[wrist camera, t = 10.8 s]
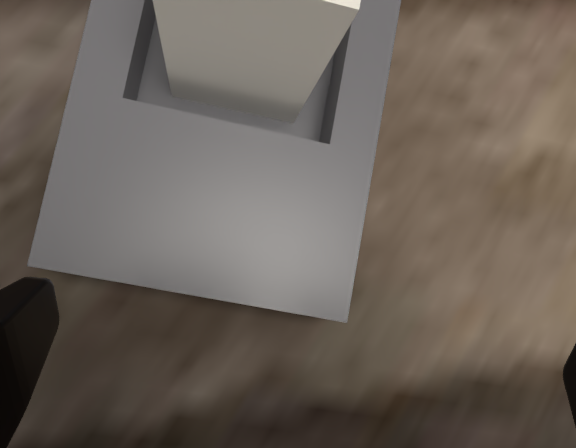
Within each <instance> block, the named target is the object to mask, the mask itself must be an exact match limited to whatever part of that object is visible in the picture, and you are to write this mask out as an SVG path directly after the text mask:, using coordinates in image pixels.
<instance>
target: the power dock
mask: <svg viewBox="0 0 576 448" xmlns="http://www.w3.org/2000/svg"><path fill="white" fill-rule="evenodd" d="M400 4H401V0H361V2H360V8H359V11H358V13H357V14H356V16H355V18H354V20H353V21H352V23H351V25H350V26H349V28H348V30H347V32H346V33H345V35H344V37H343V38H342V40H341V42H340V44H339V45H338V47H337V49H336V50H335V52H334V54H333V56H332V57H331V59H330V61H329V63H328V64H327V66H326V68H325V69H324V71H323V73H322V75H321V76H320V78H319V80H318V81H317V83H316V85H315V87H314V88H313V90H312V92H311V93H310V95H309V97H308V99H307V100H306V102H305V104H304V106H303V107H302V109H301V111H300V112H299V114H298V116H297V118H296V119H295V121H294V123H290V122H286V121H281V120H277V119H272V118H268V117H263V116H259V115H254V114H250V113H245V112H240V111H236V110H231V109H227V108H222V107H218V106H213V105H209V104H204V103H200V102H195V101H191V100H186V99H182V98H177V97H173V96H172V94H171V89H170V84H169V79H168V74H167V69H166V64H165V59H164V54H163V50H162V45H161V40H160V35H159V30H158V25H157V20H156V15H155V10H154V5H153V0H91V4H90V8H89V12H88V16H87V20H86V24H85V29H84V33H83V37H82V41H81V45H80V49H79V53H78V57H77V62H76V66H75V70H74V74H73V78H72V82H71V86H70V90H69V95H68V99H67V103H66V107H65V111H64V115H63V119H62V124H61V128H60V132H59V136H58V140H57V144H56V148H55V152H54V157H53V161H52V165H51V169H50V173H49V177H48V181H47V185H46V190H45V194H44V198H43V202H42V206H41V210H40V214H39V219H38V223H37V227H36V231H35V235H34V239H33V243H32V247H31V252H30V256H29V260H28V264H27V266H30V267H36V268H41V269H47V270H53V271H58V272H64V273H69V274H75V275H81V276H86V277H92V278H98V279H103V280H109V281H114V282H120V283H126V284H131V285H137V286H142V287H148V288H154V289H159V290H165V291H171V292H176V293H182V294H187V295H193V296H199V297H204V298H210V299H216V300H221V301H227V302H232V303H238V304H244V305H249V306H255V307H261V308H266V309H272V310H277V311H283V312H289V313H294V314H300V315H305V316H311V317H317V318H322V319H328V320H334V321H339V322H345V323H347V320H348V314H349V308H350V302H351V296H352V290H353V284H354V278H355V272H356V267H357V261H358V255H359V249H360V243H361V237H362V231H363V225H364V219H365V213H366V207H367V201H368V195H369V189H370V183H371V177H372V171H373V165H374V159H375V153H376V147H377V141H378V135H379V129H380V123H381V117H382V111H383V105H384V99H385V93H386V87H387V81H388V76H389V70H390V64H391V58H392V52H393V46H394V40H395V34H396V28H397V22H398V16H399V10H400Z"/></svg>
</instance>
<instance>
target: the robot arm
mask: <svg viewBox="0 0 576 448" xmlns="http://www.w3.org/2000/svg"><path fill="white" fill-rule="evenodd" d="M58 325H59V312H58V307H57V301H56V296H55V290H54V286H53V283H52V282H51V281H50V280H49V279H46V278H37V277H24V278H22V279H20V280H18V281H16V282H14V283H12V284H10V285H8V286H7V287H5V288H3V289H1V290H0V448H7V446H8V444H9V442H10V440H11V438H12V436H13V434H14V432H15V431H16V429H17V427H18V425H19V423H20V421H21V419H22V417H23V415H24V413H25V411H26V408H27V406H28V404H29V401H30V399H31V396H32V394H33V391H34V389H35V386H36V384H37V381H38V378H39V376H40V373H41V371H42V368H43V366H44V363H45V360H46V358H47V355H48V353H49V350H50V347H51V345H52V342H53V340H54V337H55V335H56V332H57V329H58ZM563 381H564V385H565V389H566V392H567V396H568V400H569V404H570V407H571V411H572V415H573V419H574V423H575V426H576V344H575V346H574V348H573V350H572V352H571V354H570V355H569V357H568V359H567V361H566V363H565V365H564V369H563Z"/></svg>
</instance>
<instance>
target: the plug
mask: <svg viewBox="0 0 576 448" xmlns="http://www.w3.org/2000/svg"><path fill="white" fill-rule="evenodd" d="M360 2H361V0H153V5H154V10H155V15H156V20H157V25H158V30H159V35H160V40H161V45H162V50H163V54H164V59H165V64H166V69H167V74H168V79H169V84H170V89H171V94H172V96H173V97H177V98H182V99H186V100H191V101H195V102H200V103H204V104H209V105H213V106H218V107H222V108H227V109H231V110H236V111H240V112H245V113H250V114H254V115H259V116H263V117H268V118H272V119H277V120H281V121H286V122H290V123H294V121H295V119H296V118H297V116H298V114H299V112H300V111H301V109H302V107H303V106H304V104H305V102H306V100H307V99H308V97H309V95H310V93H311V92H312V90H313V88H314V87H315V85H316V83H317V81H318V80H319V78H320V76H321V75H322V73H323V71H324V69H325V68H326V66H327V64H328V63H329V61H330V59H331V57H332V56H333V54H334V52H335V50H336V49H337V47H338V45H339V44H340V42H341V40H342V38H343V37H344V35H345V33H346V32H347V30H348V28H349V26H350V25H351V23H352V21H353V20H354V18H355V16H356V14H357V13H358V11H359V8H360Z"/></svg>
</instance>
